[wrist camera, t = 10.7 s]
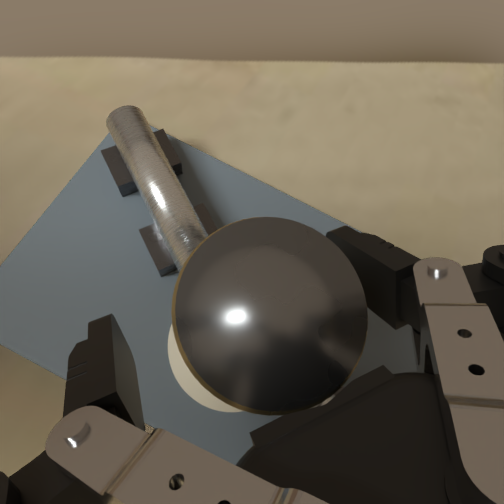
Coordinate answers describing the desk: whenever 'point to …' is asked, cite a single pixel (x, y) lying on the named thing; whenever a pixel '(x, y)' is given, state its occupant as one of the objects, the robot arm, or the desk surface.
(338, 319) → the banded tin drum
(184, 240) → the shaft
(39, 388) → the desk surface
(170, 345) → the board
